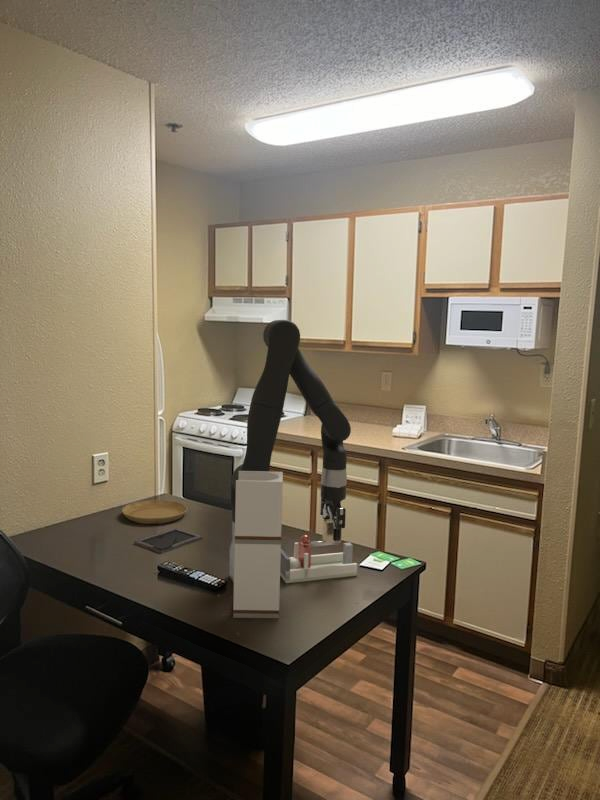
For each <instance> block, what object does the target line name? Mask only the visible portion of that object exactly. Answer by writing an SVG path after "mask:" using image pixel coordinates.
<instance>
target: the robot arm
mask: <svg viewBox="0 0 600 800" xmlns="http://www.w3.org/2000/svg"><path fill="white" fill-rule="evenodd" d="M262 336H263V337H262V339H263V342H264V344H265V346H266V347H267V352H266V353H267V354H266V358H265V359H266V360H265V363H264V367H263V371H262V374H261V375H260V377H259V379H258V382H257V384H256V386H255V388H254V391H253V394H252V397H251V400H250V404H249V410H248V414H247V421H246V450H245V454H244V458H243V463H242V464H240V465H238V466H237V467H236V468H235V469H234V470H233V472H232V475H231V480H230V484H231V485H230V509H231V516H232V517H231V544H230V545H229V568H228V570H229V573H228V574H229V578H230V580H231V581H232V583H233V584H234V553H235V504H236V480H238V478H239V471H270V470H271V469H270V467H271V461H272V460H271V459H272V455H273V450H274V447H275V443H276V441H277V440H276V439H277V436H278V435H277V434H278V432H279V428H280V423H281V421H282V420H281V419H282V416H283V411H284V406H285V400H286V395H287V390H288V384H289V379H290V377H291V379H292V381H294V383H295V386H296V387H297V389H298V391H299V392H300V394H301V396H302V397H303V399H304V401H305V403H306V404H307V405H308V408H309V409H310V410H311V412H312V413H313V414H314V415H315V416H316V417H317V418H318V419H319V421H320V422H321V425H320V426H321V427H320V438H321V446H322V469H321V477H320V479H321V480H320V515H321V516H322V520H326V519H330V520H331V521H332V522H333V527H334V528H333V540H334V541H340V540H341V528H342V529H345V528H346V508H345V507H342V504H341V502H342V501H344V500H345V499H346V497H347V483H348V482H347V480H348V479H347V478H348V476H347V474H348V473H347V455H348V454H347V451H346V449H345V447H344V442H345V441H346V440H348V438H349V437H350V435H351V432H352V428H351V423H350V422H349V420H348V418H347V417H346V415H345V414H344V413H343V411H342V410H341V409H340V408H339V406H338V405H337V404H336V402H335V400H333V397H332V395H331V394H330V392H329V390H328V389H327V387H326V385H325V384H324V382H323V380H322V379H321V378H320V377H319V375H318V374H317V373H316V372H315V371H314V369H313V368H312V367H311V365H310V364H309V363H308V362H307V360H306V359H305V357H304V355H303V354H302V352H301V350H300V348H299V346H300V342H301V331H300V329H299V327H298V326H297V324H296V323H295V322H293V321H291V320H290V319H289V320H288V319H277V320H276V319H275V320H272V321H270V322H269V323H267V324H266V326H265V327H264V330H263V333H262ZM335 521H336V522H335ZM340 542H341V541H340Z"/></svg>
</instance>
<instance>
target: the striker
mask: <svg viewBox="0 0 600 800" xmlns="http://www.w3.org/2000/svg"><path fill="white" fill-rule="evenodd" d="M335 522H336V521H335ZM333 528H334V527H333V522H332V521H331V520H330V519H326V520H324V519H322V537H321V538H322V539H321V540H317V541H316V540H315V541H310V536H309V535H307V534H304V535H302V536H300V541H299V542H298V543H299V548H298V557H299V561H300V562H301V568H304V553H308V554H309V555H308V568H310V565H311V555H312V547H320V546H321V547H323V546H333V545H340V544H341V542H342V540H343V539H342V537H343V528H341V540H340V541H334V540H333Z"/></svg>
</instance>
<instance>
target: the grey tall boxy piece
mask: <svg viewBox="0 0 600 800" xmlns="http://www.w3.org/2000/svg"><path fill="white" fill-rule="evenodd" d="M283 473H284V472H283V471H270V470H269V471H239V478H238V480H236V504H235V553H234V583H233V609H232V611H233V612H232V613H233V614H232V618H235V619H236V618H237V619H238V618H241V619H242V618H243V619H279V618H280V596H281V595H280V593H281V592H280V591H281V590H280V589H281V588H280V587H281V576H280V561H281V549H282V522H283V521H282V520H283V491H284V490H283V487H284V485H283V484H284V479H283V477H284V476H283V475H284V474H283Z"/></svg>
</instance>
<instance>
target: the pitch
mask: <svg viewBox="0 0 600 800" xmlns="http://www.w3.org/2000/svg"><path fill="white" fill-rule="evenodd" d="M293 547H294V548H293V549H294V550H293V556H291V557H289V556H288V555H287V553H286V552H285V551H284V550H283V548H281V561H280V578H282V580H283V581H284V583H286V584H290V583H292V584H293V583H299V582H300V583H301V582H309V581H318V580H319V581H320V580H327V579H338V578H345V577H346V578H347V577H354V576H356V577H357V575H358V563H356V562H354V563H353V550H354V549H353V548H354V545H353V544H352V543H351V542H349V541H348V542H343V549H342V550H343V551H342V552H334V553H333V552H331V553H323V554H311V565H310V568H308V555H309V554H308V553H304V568H300V569H291V570H290V559H292V558H296V559H298V560H299V542H294V546H293Z"/></svg>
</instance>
